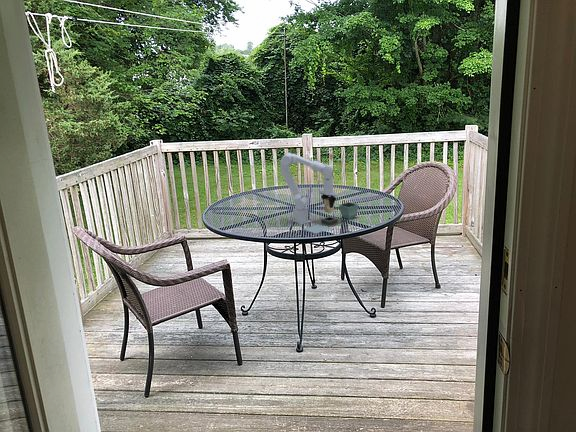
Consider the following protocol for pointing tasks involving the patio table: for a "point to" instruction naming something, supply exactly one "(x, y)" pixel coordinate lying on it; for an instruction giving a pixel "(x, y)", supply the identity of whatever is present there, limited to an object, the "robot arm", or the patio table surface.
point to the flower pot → (348, 210)
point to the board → (316, 229)
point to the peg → (328, 206)
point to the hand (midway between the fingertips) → (329, 207)
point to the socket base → (329, 221)
